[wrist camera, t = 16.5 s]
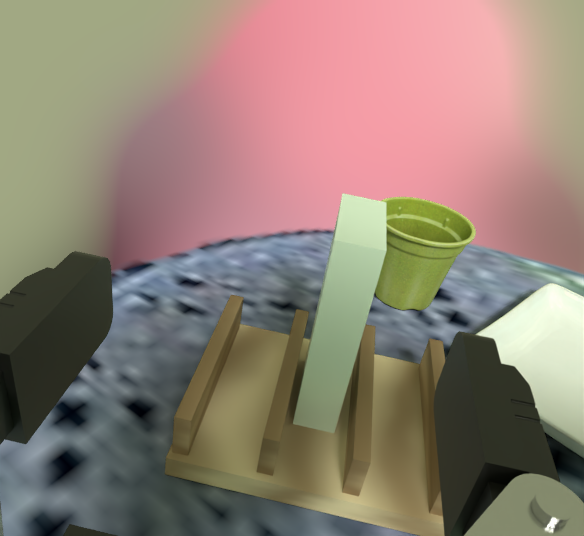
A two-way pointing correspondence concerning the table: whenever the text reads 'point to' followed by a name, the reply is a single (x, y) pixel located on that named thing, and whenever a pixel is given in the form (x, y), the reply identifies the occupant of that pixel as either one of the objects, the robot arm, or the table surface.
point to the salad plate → (548, 357)
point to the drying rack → (307, 441)
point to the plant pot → (419, 250)
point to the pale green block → (342, 310)
